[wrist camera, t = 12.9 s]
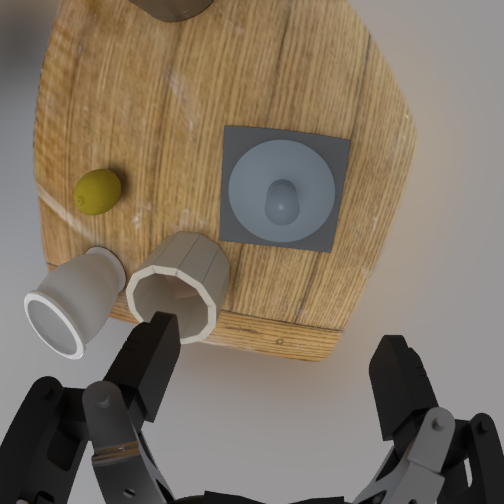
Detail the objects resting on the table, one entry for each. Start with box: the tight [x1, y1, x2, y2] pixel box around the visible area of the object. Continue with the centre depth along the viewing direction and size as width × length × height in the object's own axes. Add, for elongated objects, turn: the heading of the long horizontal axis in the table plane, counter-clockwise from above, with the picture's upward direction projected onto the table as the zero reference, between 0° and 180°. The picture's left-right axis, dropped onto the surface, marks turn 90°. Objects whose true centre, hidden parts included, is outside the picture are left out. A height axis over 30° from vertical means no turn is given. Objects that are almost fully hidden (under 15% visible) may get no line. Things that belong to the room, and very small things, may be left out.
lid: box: [229, 139, 335, 242], centre depth 28 cm, size 12×12×7 cm
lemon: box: [74, 169, 121, 215], centre depth 29 cm, size 6×6×8 cm
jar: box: [24, 247, 126, 359], centre depth 33 cm, size 11×10×15 cm
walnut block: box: [164, 274, 200, 299], centre depth 36 cm, size 4×4×4 cm
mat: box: [219, 126, 350, 253], centre depth 31 cm, size 14×14×1 cm
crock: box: [126, 232, 230, 344], centre depth 33 cm, size 11×11×9 cm
